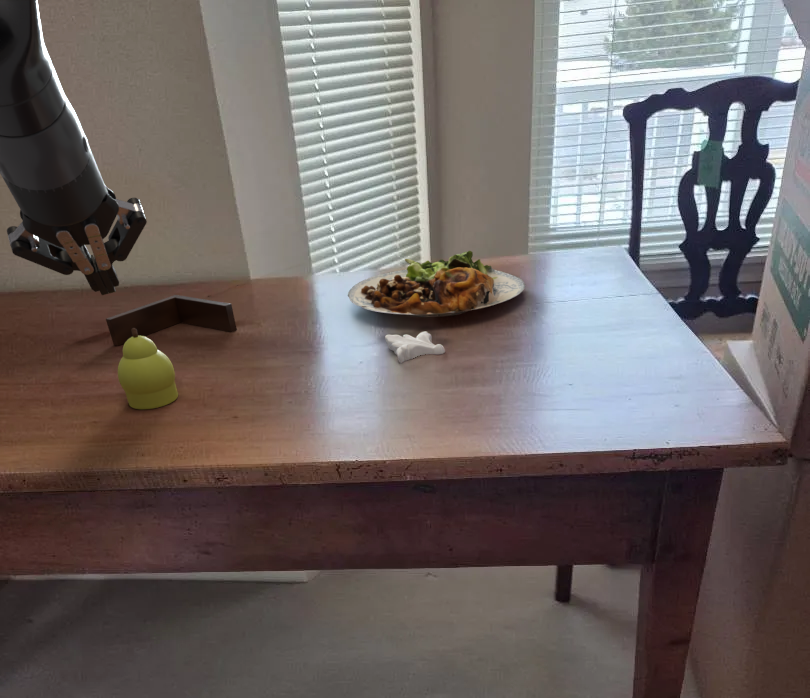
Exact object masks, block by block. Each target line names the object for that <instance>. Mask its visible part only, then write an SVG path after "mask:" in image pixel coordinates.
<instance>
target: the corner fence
mask: <svg viewBox="0 0 810 698" xmlns="http://www.w3.org/2000/svg"><path fill="white" fill-rule="evenodd" d="M105 321H106V325H107V328H108V331H109V332H108V333H109V335H110V338H111V341H112V344H113V346H122V345H124V344H125V342H126V341H127V340H128V339H129V338H131V337H133V335H132V331H131V330H132V328H135V329H136V330H137V333H138V336H145V337H147V336H149V335H152V334H153V333H156V332H159V331H161V330H164V329H168V328H169V327H172V326H175V325H178V324H180V323H181V324H188V325H193V326H198V327H203V328H208V329H214V330H219V331H223V332H228V333H232V332H234V331H237V324H236V319H235V314H234V309H233V305H232V303H229V302H223V301H216V300H210V299H204V298H199V297H198V298H197V297H192V296H186V295H179V294H173V295H170V296H168V297H165V298H162V299H159V300H156V301H153V302H151V303H148V304H145V305H142V306H138V307H136V308H133V309H129V310H126V311H123V312H121V313H118V314H116V315H112V316H109V317H107V318H105Z"/></svg>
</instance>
